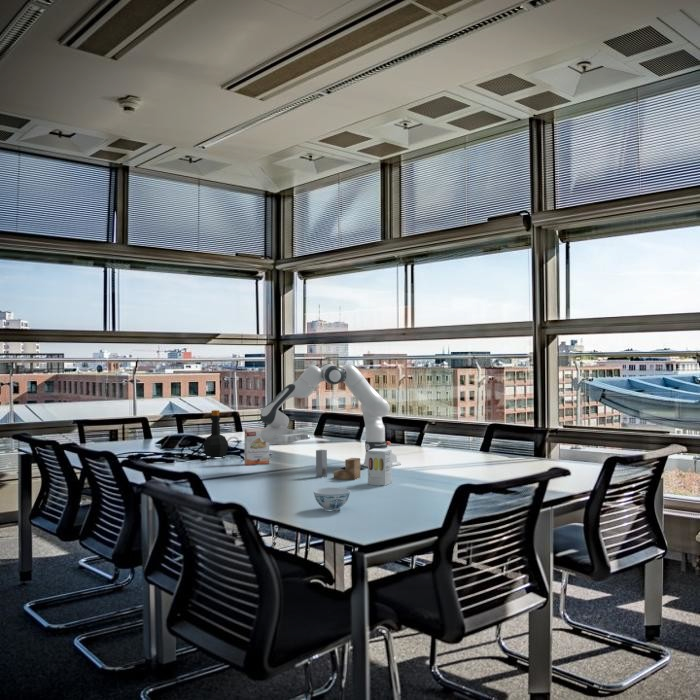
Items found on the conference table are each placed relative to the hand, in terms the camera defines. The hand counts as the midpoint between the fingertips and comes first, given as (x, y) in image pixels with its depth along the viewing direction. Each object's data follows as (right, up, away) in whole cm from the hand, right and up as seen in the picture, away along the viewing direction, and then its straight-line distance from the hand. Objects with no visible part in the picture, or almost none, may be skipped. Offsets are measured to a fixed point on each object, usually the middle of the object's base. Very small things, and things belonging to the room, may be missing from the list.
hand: (303, 437), depth 381 cm
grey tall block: (+10, -20, -8) cm, 23 cm away
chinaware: (+17, -18, -90) cm, 93 cm away
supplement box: (+39, -19, -31) cm, 53 cm away
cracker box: (-30, -21, +41) cm, 55 cm away
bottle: (-61, -22, +72) cm, 97 cm away
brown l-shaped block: (+23, -19, -12) cm, 33 cm away
